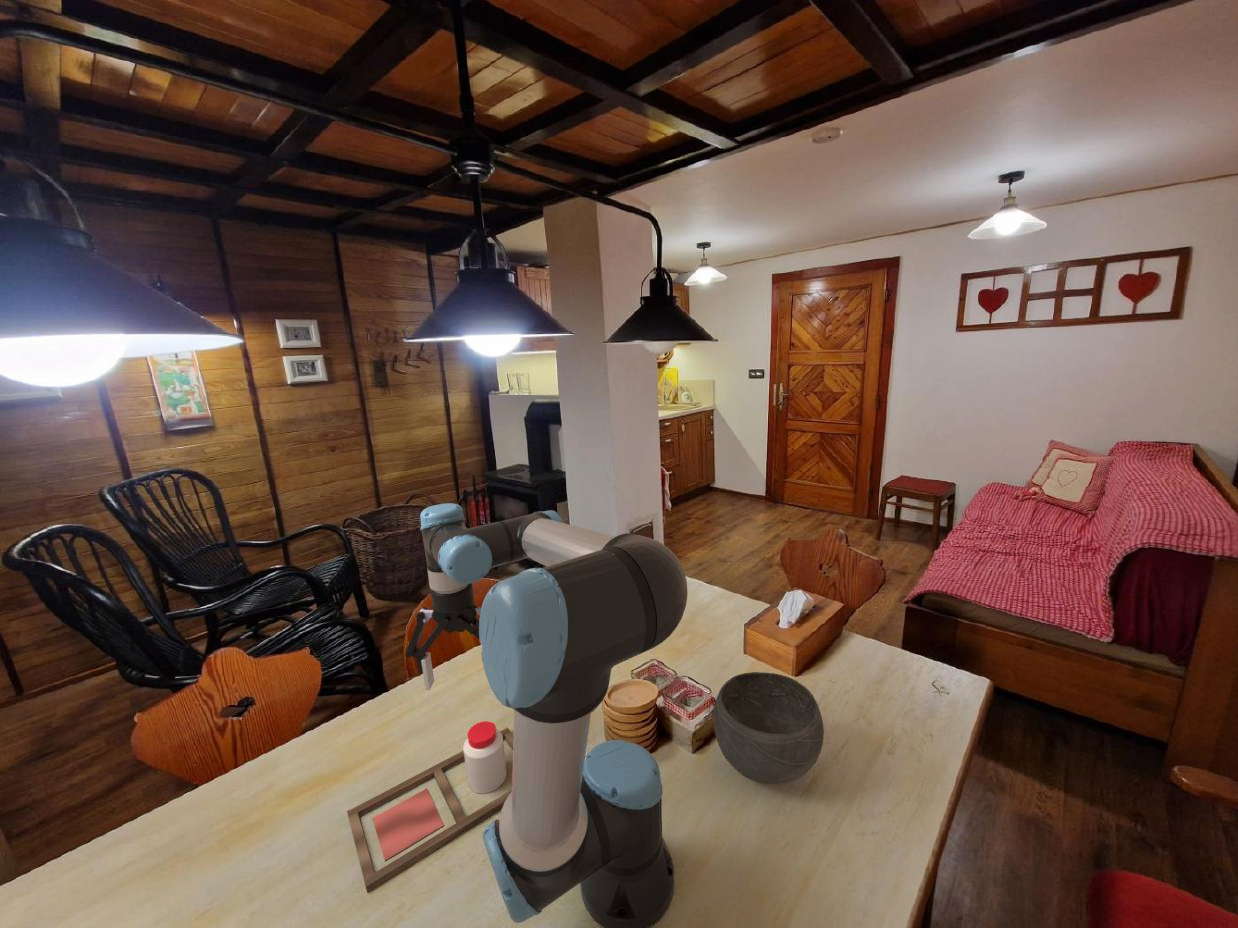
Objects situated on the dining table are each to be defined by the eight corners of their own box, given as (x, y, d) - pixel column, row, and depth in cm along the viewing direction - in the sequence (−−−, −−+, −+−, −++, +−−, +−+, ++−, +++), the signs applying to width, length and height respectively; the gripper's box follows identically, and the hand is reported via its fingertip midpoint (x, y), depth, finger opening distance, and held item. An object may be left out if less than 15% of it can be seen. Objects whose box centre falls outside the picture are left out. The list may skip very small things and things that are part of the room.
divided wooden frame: (544, 781, 98) (544, 776, 98) (367, 892, 79) (365, 886, 79) (508, 731, 112) (507, 727, 111) (348, 816, 93) (347, 811, 92)
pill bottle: (496, 796, 96) (491, 749, 93) (460, 790, 97) (453, 743, 95) (512, 763, 103) (508, 719, 100) (478, 759, 104) (473, 714, 102)
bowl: (826, 744, 105) (830, 683, 101) (812, 829, 87) (817, 758, 83) (729, 713, 115) (730, 656, 111) (699, 783, 97) (699, 718, 93)
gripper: (520, 572, 97) (530, 668, 101) (393, 579, 97) (408, 675, 101) (513, 590, 89) (524, 692, 94) (375, 598, 89) (393, 700, 94)
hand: (464, 683), depth 98 cm, fingers open, 13 cm apart
